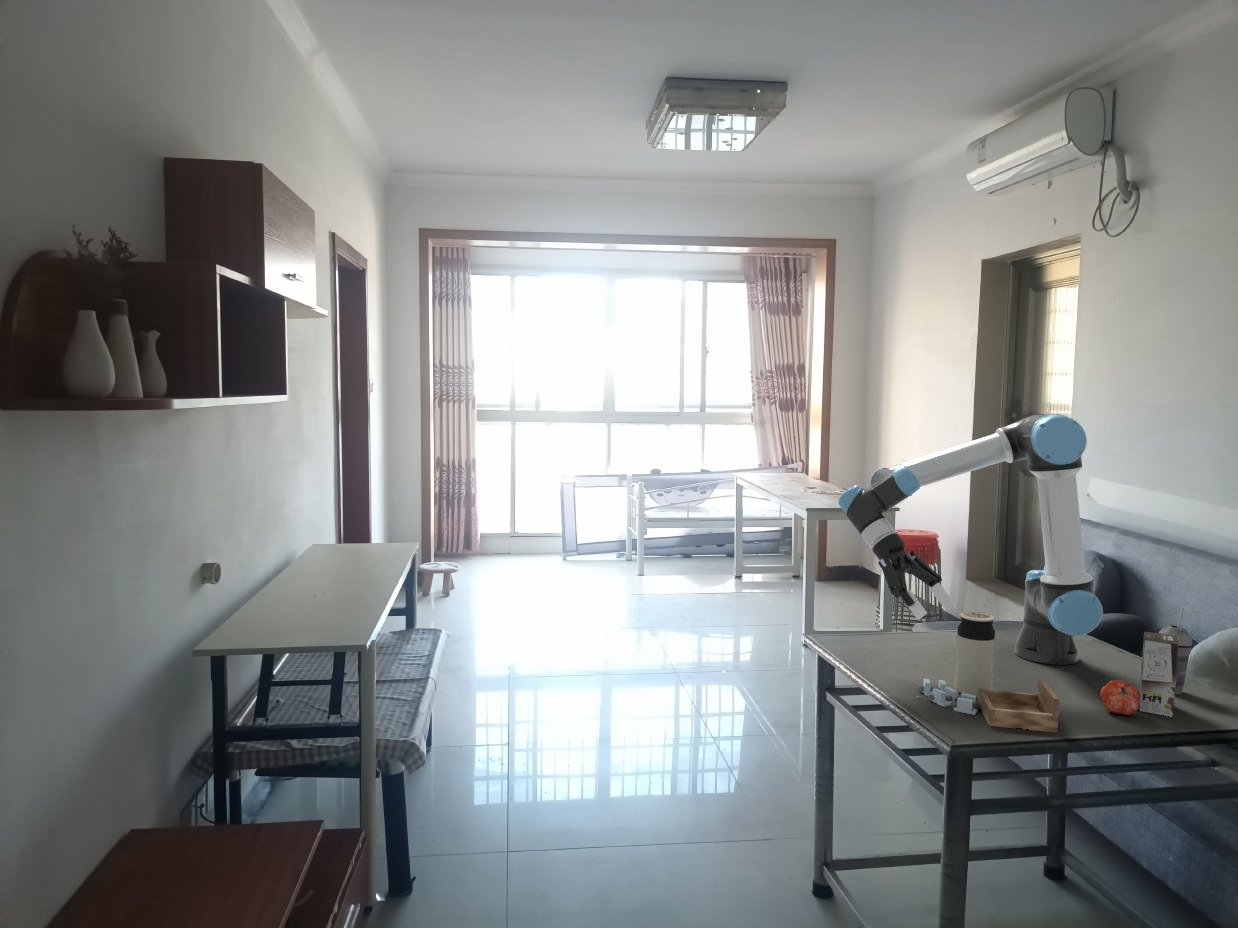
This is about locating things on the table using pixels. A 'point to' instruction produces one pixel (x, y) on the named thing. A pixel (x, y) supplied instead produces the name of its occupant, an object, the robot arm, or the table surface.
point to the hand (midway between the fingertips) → (937, 612)
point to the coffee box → (1158, 673)
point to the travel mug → (974, 652)
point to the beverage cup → (1180, 651)
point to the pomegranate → (1120, 697)
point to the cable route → (950, 697)
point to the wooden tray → (1021, 708)
